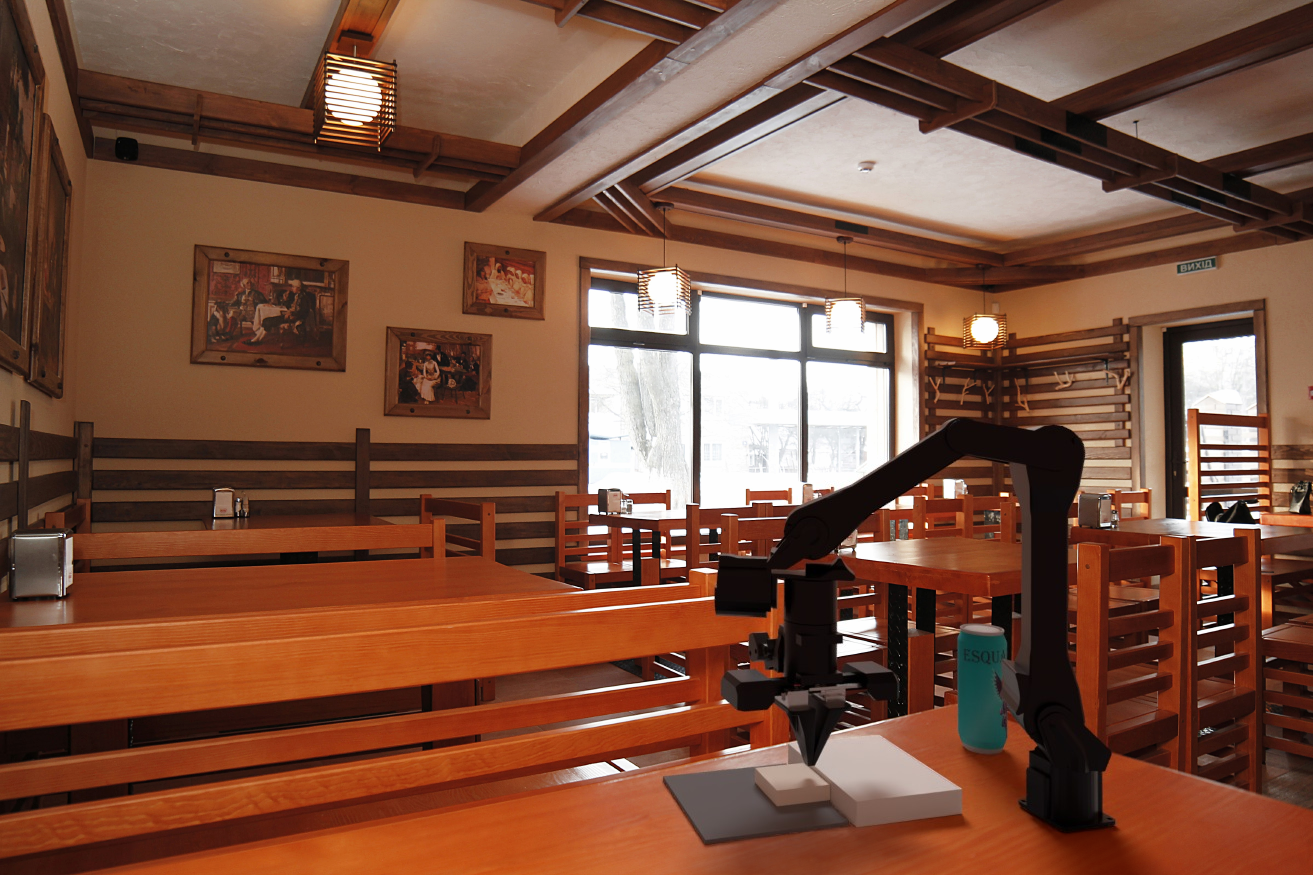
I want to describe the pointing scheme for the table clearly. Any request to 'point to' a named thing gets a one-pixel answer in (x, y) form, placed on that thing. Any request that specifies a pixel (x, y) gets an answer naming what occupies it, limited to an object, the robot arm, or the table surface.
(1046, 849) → the table surface
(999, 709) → the beverage can
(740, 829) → the charcoal mat
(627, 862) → the table surface
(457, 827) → the table surface
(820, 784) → the cream rectangular block
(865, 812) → the light grey rectangular box
